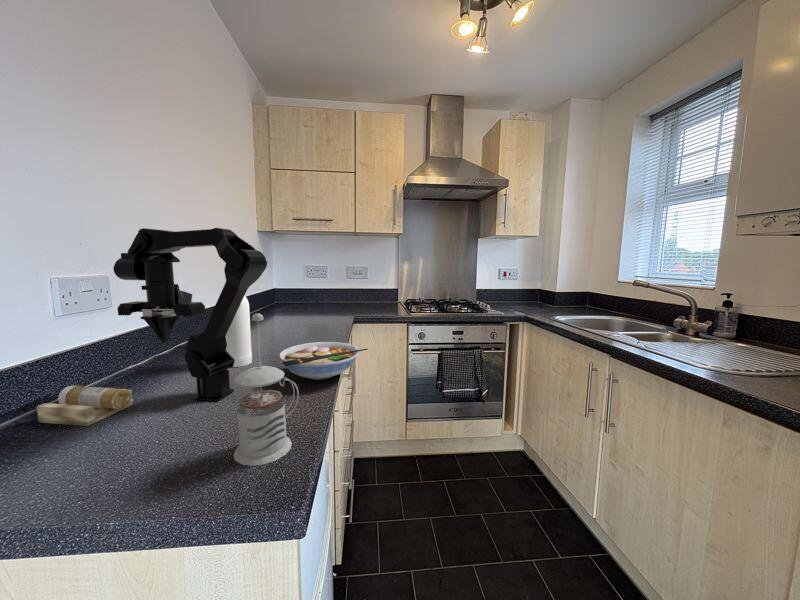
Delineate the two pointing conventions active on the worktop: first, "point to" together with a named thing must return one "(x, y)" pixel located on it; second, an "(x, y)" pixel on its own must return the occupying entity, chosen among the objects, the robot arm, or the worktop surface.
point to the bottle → (240, 336)
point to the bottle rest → (73, 413)
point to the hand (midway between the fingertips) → (165, 342)
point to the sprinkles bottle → (95, 397)
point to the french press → (262, 415)
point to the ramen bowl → (319, 359)
